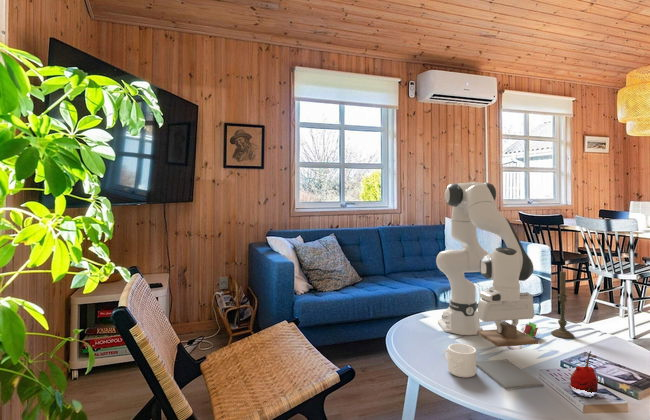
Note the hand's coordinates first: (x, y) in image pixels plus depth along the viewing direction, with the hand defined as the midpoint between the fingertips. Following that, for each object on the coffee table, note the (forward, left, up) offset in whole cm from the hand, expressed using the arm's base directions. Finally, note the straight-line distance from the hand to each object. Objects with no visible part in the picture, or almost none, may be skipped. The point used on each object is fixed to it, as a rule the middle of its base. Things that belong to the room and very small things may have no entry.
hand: (506, 331), depth 137 cm
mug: (-5, -16, -16) cm, 23 cm away
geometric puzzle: (-31, +33, -16) cm, 48 cm away
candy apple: (+17, +16, -16) cm, 28 cm away
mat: (0, 0, -15) cm, 15 cm away
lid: (0, 0, -2) cm, 2 cm away
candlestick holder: (-31, +49, -16) cm, 60 cm away
